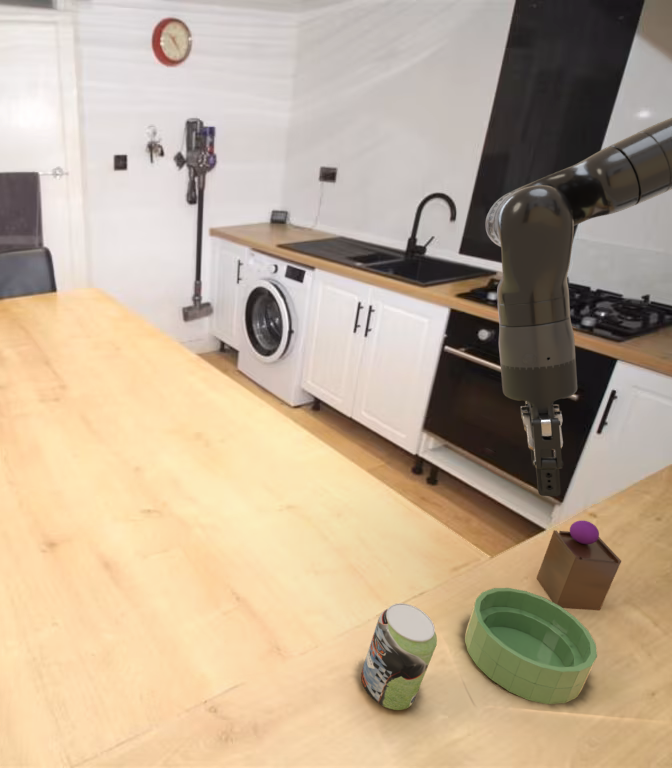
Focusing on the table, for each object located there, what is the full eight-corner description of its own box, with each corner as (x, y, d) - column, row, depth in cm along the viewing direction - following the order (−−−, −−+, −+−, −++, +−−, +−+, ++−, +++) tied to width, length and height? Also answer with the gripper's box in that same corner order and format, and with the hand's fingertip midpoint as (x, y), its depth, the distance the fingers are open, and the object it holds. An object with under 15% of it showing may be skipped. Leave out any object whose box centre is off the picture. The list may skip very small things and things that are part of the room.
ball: (584, 541, 76) (585, 518, 77) (604, 547, 73) (605, 524, 73) (563, 540, 76) (564, 517, 76) (582, 546, 73) (583, 522, 73)
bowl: (534, 620, 73) (546, 586, 71) (606, 706, 62) (625, 669, 60) (445, 622, 73) (455, 588, 71) (502, 710, 62) (516, 673, 59)
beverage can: (373, 662, 68) (382, 584, 64) (435, 698, 63) (448, 614, 59) (349, 694, 64) (357, 611, 60) (413, 734, 59) (426, 647, 55)
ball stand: (535, 578, 81) (553, 530, 77) (576, 582, 80) (596, 533, 76) (555, 607, 76) (575, 556, 72) (599, 612, 75) (621, 561, 71)
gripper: (585, 368, 58) (593, 507, 61) (566, 341, 69) (574, 458, 73) (502, 374, 62) (513, 504, 65) (498, 347, 73) (508, 458, 77)
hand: (545, 480), depth 69 cm, fingers open, 8 cm apart
